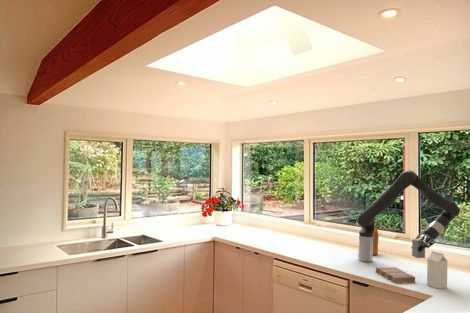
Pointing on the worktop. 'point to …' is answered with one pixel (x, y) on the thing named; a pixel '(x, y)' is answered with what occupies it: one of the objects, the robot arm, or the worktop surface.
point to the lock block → (415, 245)
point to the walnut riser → (395, 274)
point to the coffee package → (375, 241)
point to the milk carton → (437, 270)
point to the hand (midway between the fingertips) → (415, 249)
